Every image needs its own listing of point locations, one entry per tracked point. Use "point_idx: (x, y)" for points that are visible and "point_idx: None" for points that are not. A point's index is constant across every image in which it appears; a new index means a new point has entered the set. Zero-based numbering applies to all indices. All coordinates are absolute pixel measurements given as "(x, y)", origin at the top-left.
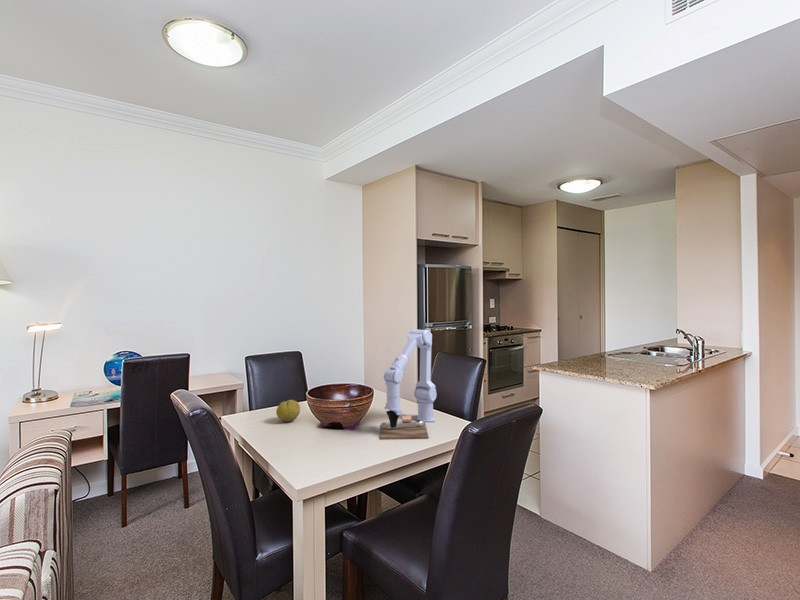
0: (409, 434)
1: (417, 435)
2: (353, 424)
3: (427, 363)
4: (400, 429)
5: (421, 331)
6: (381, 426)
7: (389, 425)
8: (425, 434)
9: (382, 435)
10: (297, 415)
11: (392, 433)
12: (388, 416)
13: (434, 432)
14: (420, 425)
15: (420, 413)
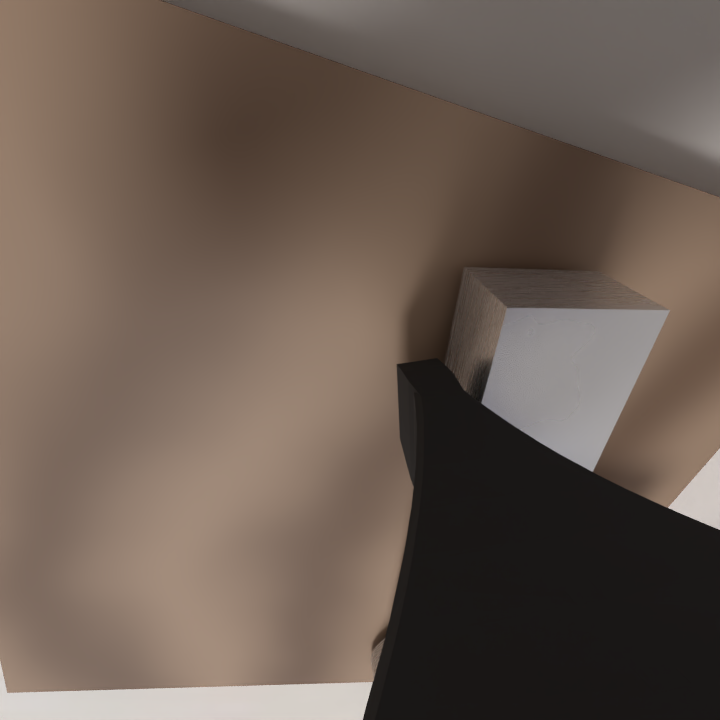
0: (92, 546)
1: (39, 616)
2: None
3: None
4: (374, 471)
5: None
6: (705, 194)
7: (480, 352)
8: (85, 675)
9: (26, 21)
10: None
11: (178, 318)
12: (626, 514)
13: (240, 695)
14: (373, 674)
15: None
